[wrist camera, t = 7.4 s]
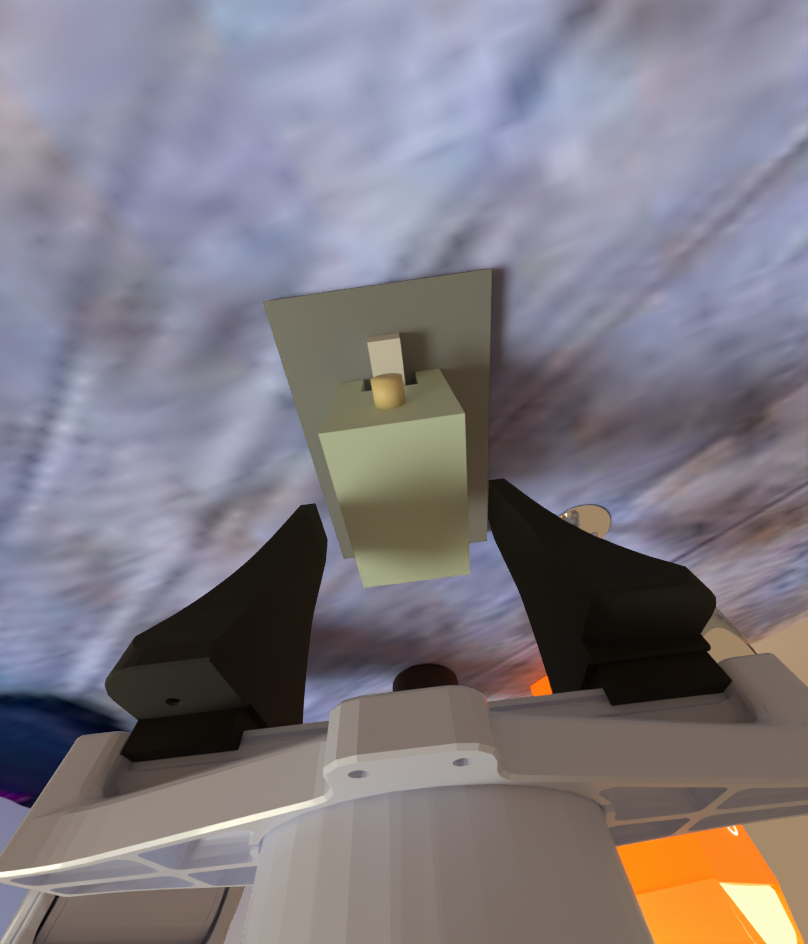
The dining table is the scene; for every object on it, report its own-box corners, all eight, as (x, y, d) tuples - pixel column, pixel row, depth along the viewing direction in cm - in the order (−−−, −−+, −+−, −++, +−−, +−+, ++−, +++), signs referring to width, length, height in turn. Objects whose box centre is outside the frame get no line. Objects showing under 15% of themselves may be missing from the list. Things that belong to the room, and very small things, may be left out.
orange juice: (638, 664, 34) (889, 1049, 17) (576, 700, 38) (732, 1046, 21) (588, 645, 32) (823, 1072, 15) (528, 686, 36) (659, 1064, 19)
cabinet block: (448, 497, 20) (470, 573, 15) (369, 508, 20) (364, 587, 15) (437, 347, 15) (463, 383, 10) (334, 362, 15) (309, 406, 10)
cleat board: (483, 530, 23) (493, 557, 21) (345, 548, 23) (341, 575, 21) (485, 269, 15) (502, 268, 12) (269, 300, 15) (250, 304, 13)
